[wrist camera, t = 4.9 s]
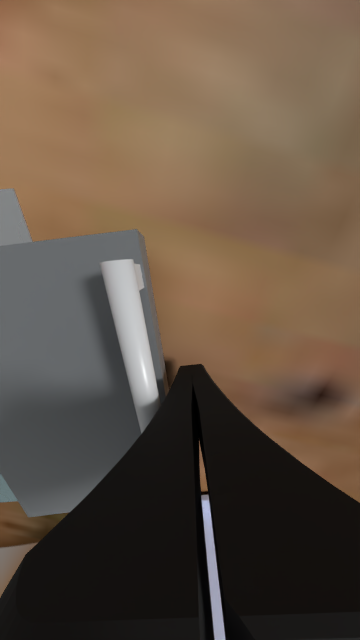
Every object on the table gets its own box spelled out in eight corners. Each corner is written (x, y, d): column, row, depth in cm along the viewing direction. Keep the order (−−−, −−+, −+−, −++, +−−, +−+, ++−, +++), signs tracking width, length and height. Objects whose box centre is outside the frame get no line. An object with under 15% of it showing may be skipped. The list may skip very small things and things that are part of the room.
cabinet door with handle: (181, 448, 12) (185, 542, 8) (59, 463, 12) (0, 565, 8) (148, 242, 8) (121, 213, 4) (-34, 264, 8) (-258, 259, 4)
